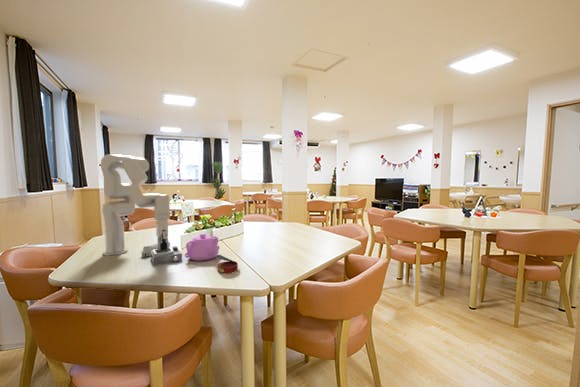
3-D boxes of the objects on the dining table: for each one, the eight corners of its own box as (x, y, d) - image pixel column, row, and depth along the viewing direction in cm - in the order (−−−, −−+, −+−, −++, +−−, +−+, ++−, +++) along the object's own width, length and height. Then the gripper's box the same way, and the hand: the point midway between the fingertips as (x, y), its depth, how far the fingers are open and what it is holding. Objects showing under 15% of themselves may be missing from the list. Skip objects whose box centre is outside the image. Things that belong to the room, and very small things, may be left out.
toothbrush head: (171, 240, 172) (148, 245, 148) (170, 250, 172) (147, 256, 147) (163, 240, 173) (139, 244, 148) (163, 250, 172) (138, 256, 147)
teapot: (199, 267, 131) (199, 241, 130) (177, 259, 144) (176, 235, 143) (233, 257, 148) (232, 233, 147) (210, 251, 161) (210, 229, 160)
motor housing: (150, 258, 146) (150, 248, 145) (177, 254, 153) (177, 245, 153) (154, 266, 132) (153, 256, 132) (182, 261, 140) (182, 251, 139)
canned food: (218, 278, 129) (215, 258, 132) (238, 273, 132) (234, 254, 136) (218, 275, 119) (215, 254, 122) (240, 270, 122) (236, 250, 126)
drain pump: (157, 249, 143) (156, 235, 143) (167, 248, 146) (167, 234, 146) (158, 252, 139) (158, 237, 139) (168, 250, 142) (168, 236, 141)
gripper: (152, 215, 147) (153, 246, 148) (156, 219, 132) (157, 253, 133) (167, 214, 151) (168, 244, 152) (172, 217, 137) (173, 251, 137)
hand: (163, 248), depth 143 cm, fingers closed on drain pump, 5 cm apart
